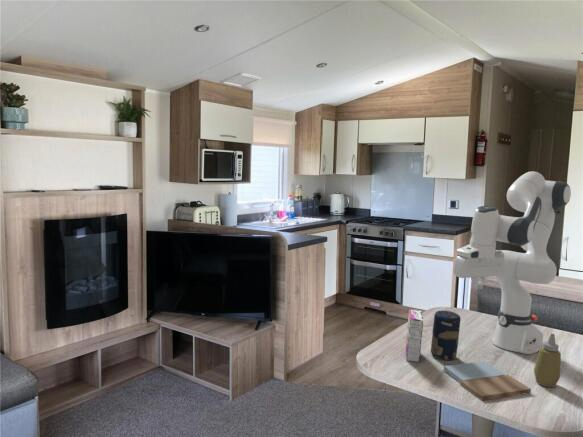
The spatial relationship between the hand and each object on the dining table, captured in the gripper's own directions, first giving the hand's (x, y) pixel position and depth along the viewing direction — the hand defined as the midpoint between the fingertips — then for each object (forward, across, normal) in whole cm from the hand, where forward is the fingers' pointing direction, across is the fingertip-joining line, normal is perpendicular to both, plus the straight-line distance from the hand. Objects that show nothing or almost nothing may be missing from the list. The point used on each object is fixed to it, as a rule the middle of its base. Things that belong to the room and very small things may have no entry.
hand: (477, 288), depth 173 cm
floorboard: (+29, +5, +19) cm, 35 cm away
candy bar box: (+29, +18, -10) cm, 36 cm away
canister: (+29, +6, -7) cm, 30 cm away
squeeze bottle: (+29, -16, +20) cm, 39 cm away
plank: (+29, +5, +9) cm, 30 cm away
